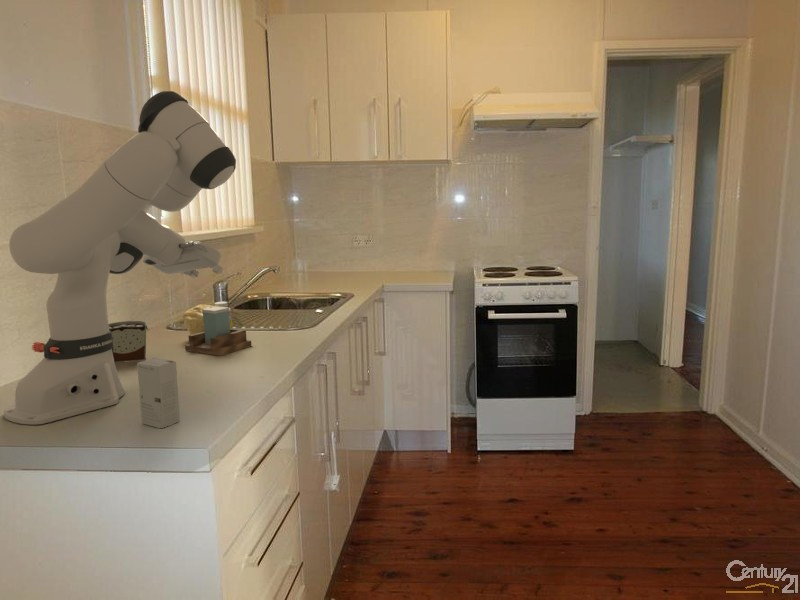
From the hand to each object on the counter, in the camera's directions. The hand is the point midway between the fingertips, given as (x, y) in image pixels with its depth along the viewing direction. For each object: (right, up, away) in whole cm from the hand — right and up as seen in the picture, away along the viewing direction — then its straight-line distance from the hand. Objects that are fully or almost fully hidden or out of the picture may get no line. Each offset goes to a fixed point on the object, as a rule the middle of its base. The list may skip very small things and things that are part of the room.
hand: (208, 273), depth 157 cm
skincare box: (+7, -31, -47) cm, 57 cm away
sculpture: (-7, -19, +21) cm, 30 cm away
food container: (-22, -24, +1) cm, 32 cm away
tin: (0, -20, +9) cm, 22 cm away
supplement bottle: (-4, -18, +27) cm, 33 cm away
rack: (0, -21, +10) cm, 23 cm away
